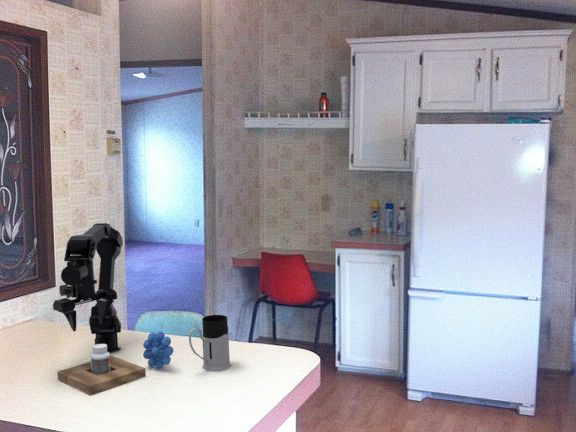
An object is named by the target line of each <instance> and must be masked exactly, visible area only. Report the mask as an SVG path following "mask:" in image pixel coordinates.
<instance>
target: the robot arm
mask: <svg viewBox="0 0 576 432" xmlns="http://www.w3.org/2000/svg"><path fill="white" fill-rule="evenodd" d="M123 239H124V238H123V236H122V235H121V233H120V232H119V230H117V229H116V228H114V227H112V226H111V224H110V223H107V222H103V223H102V222H100V223H95V224H93V225H92V227H90V228H89V229H88V230H86V231H85V232H84V233H82V234H75V235H72V236H70V237H69V239H68V241H67V243H66V248H65V255H64V260H63V261H64V262H66V266H65V267H63V269H62V270H61V274H60V278H61V280H62V282H63V283H64V284H62V285H59V289H58V290H59V295H60V296H61V297H64V296H65V297H64V298H59V299H56V300H54V302H53V304H52V310H54V311H57V312H58V313H61V314H63V315H64V316H65V318H66V320H67V322H68V324H69V325H70V328H71V330H72V331H73V332H76V331H77V310H75V308H76V306H79V305H83V304H88V303H91V302H95V301H96V304H95V305H94V306H92V307H91V309H90V315H89V318H88V319H89V320H88V324H89V328H90V333H91V335H95V337H94V345H97V344H106V345H107V352H109V353H113V352H117V351H120V350H122V348H121V347H120V346H119V340H118V339H119V338H118V334H119V333H122V323H121V321H120V319H119V317H118V316H117V310H116V307H115V306H114V304H113V303H114V302H115V300H117V299H118V293H117V291H116V289H114V280H115V267H116V260H117V258H118V257H119V255H120V254H121V252H122V251H121V250H122V247H123V244H124V243H123V242H124V240H123ZM96 253H97V254H98V256H99V258H100V261H99V262H100V263H99V274H98V275H99V278H98V280H97V279H95V273H94V272H95V271H94V259H95V255H96ZM97 283H98V289H97V290H96V286H95V284H97ZM71 298H72V299H71Z"/></svg>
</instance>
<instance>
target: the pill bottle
mask: <svg viewBox="0 0 576 432" xmlns="http://www.w3.org/2000/svg"><path fill="white" fill-rule="evenodd" d="M92 351H93V353H91V354H90V355H91V356H90V362H91V366H92V374H95V375H97V376H98V375H101V374H104V373H107V372H110V371H111V363H110V356H111V354H110V353H111V352H110V353H109V352H107V345H106V344H97V345H95V344H94V345H93V346H92Z"/></svg>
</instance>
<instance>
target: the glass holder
mask: <svg viewBox="0 0 576 432" xmlns="http://www.w3.org/2000/svg"><path fill="white" fill-rule="evenodd" d="M201 321H202V322H201V323H202V324H201V325H202V329H200V328H199V327H193V328H192V329H191V330H190V331H189V334H188V342H189V347H190V349H191V351H192V352H193V354H194V355H196V356H197V358H200V359H201V360H202V361H203V364H202V365H201V366H202V367H201V368H202V369H203V370H204V371H207V372H222V371H225V370H226V371H227V370H229V369H230V368H231V367H232V364H231V358H230V341H229V339H230V338H229V337H230V336H229V334H230V333H229V325H228V316H227V315H224V314H210V315H207V316H206V315H205V316H204V317H202V318H201ZM195 330H197V331H198V332H199V338H200V340H201V341H202V353H203V354H202V356H201V355H199V353H197V352H196V350H195V348H194V346H193V344H192V343H193V342H192V334H193V332H194V331H195Z"/></svg>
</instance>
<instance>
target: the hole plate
mask: <svg viewBox="0 0 576 432" xmlns="http://www.w3.org/2000/svg"><path fill="white" fill-rule="evenodd" d="M110 363H111V371H110V372H107V373H104V374H101V375H98V376H97V375H95V374H92V366H91V361H88V362H85V363H81V364H78V365H75V366H71V367H68V368H64V369H62V370H57V372H56V373H57V381H58V382H61V383H63V384H66V385H68V386H70V387H73V388H74V389H77V390H78V391H80V392H83V393H85V394H87V395H89V396H94V395H95V394H99V393H101V392H104V391H107V390H111V389H113V388H116V387H119V386H122V385H124V384H128V383H130V382H133V381H136V380H139V379H142V378H145V377H146V375H147V374H146V367H143V366H141V365H138V364H136V363H133V362H129V361H128V360H125V359H122V358H120V357H116V356H114V355H111V354H110Z"/></svg>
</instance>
